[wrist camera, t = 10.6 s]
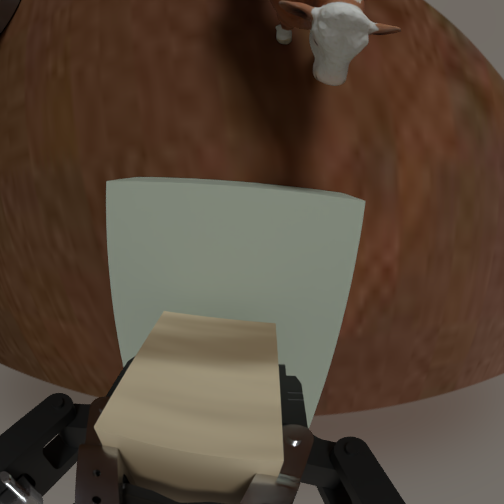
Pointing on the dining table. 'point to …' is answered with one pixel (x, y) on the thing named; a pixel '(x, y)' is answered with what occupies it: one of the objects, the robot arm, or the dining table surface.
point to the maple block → (199, 409)
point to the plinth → (235, 262)
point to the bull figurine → (329, 32)
